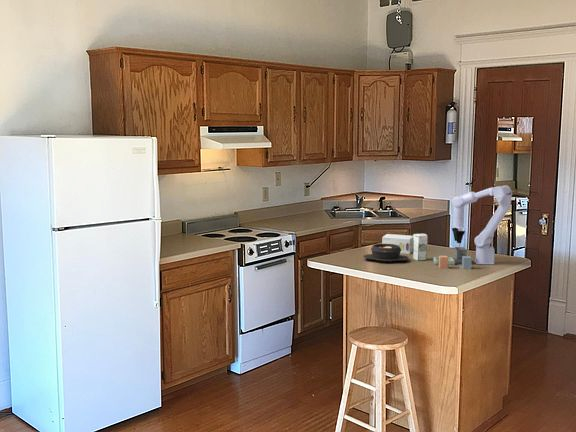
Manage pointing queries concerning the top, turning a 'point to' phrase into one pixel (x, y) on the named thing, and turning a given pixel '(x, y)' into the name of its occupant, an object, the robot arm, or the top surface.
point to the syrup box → (420, 247)
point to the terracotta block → (443, 262)
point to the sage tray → (450, 261)
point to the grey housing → (459, 254)
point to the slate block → (466, 262)
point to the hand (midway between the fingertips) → (457, 241)
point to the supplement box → (400, 242)
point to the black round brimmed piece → (386, 253)
